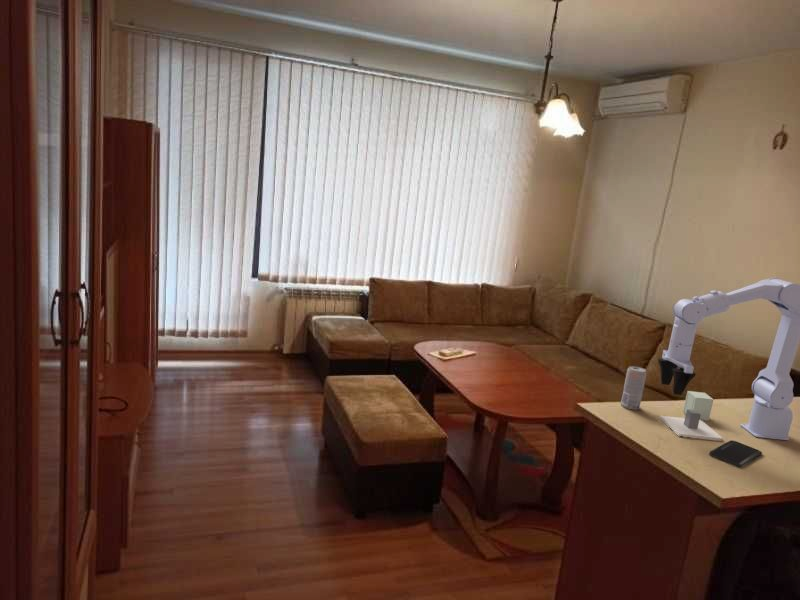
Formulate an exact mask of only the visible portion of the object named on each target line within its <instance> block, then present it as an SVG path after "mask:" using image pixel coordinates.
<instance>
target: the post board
mask: <svg viewBox="0 0 800 600" xmlns="http://www.w3.org/2000/svg"><path fill="white" fill-rule="evenodd" d="M700 415H701V414H700V413H699V412H698V411H697V410H689V409H687V411H686V414H685V415H684V417H677V416H676V417H675V416H668V415H660V416H659V419H660V420H661V421H662V422H663V423H664V424H665V426H667V427H668V428H669V427H670V428H671V429H672V430H673V431H674V432H675V433H676V434H677V435H678V436H683V437H682V438H687V437H691V438H690V439H697V438H698V440H708V441H715V442H716V441H718V442H723V441H724V438H723V437H722V436H721V435H720V434H718V433H717V432H716V431H715V430H714V429H713V428H712V427H710V426H709V425H708V424H707V423H706V422H704V420H700ZM670 428H669V429H670ZM671 429H670V430H671ZM672 430H671V431H672ZM673 431H672V432H673ZM674 432H673V433H674ZM675 433H674V434H675ZM676 434H675V435H676ZM677 435H676V436H677ZM678 436H677V437H678Z"/></svg>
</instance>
